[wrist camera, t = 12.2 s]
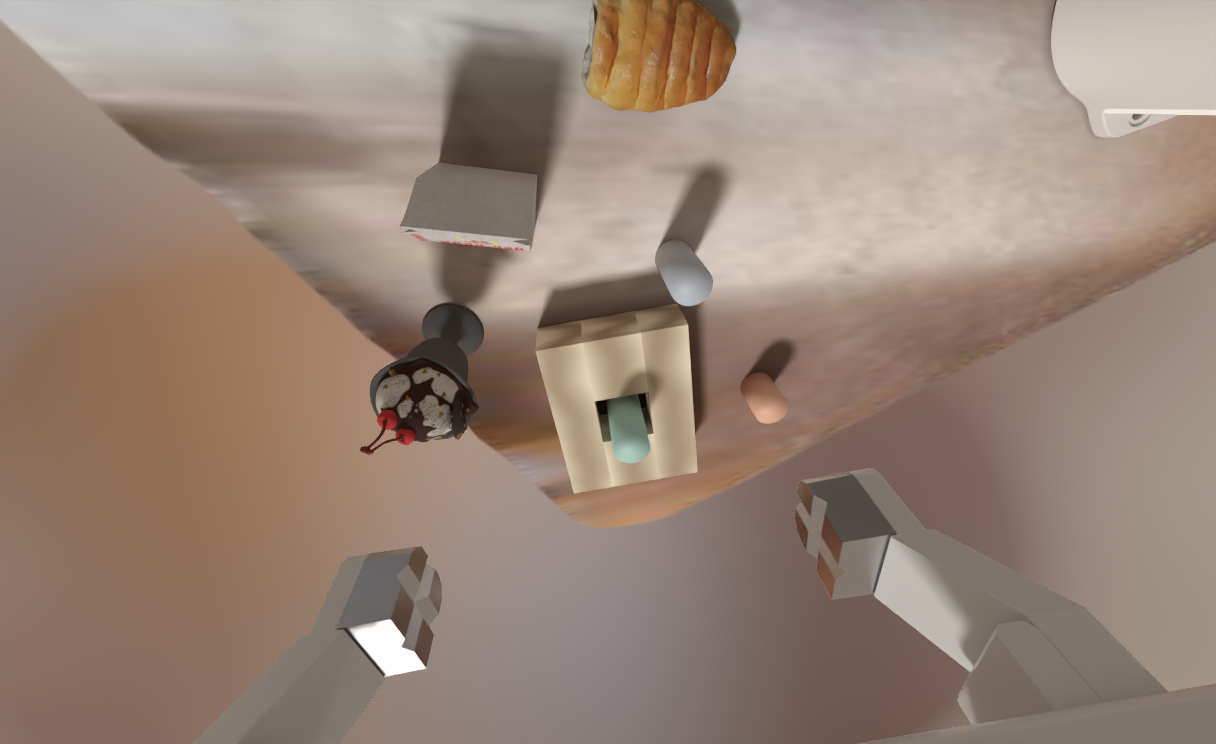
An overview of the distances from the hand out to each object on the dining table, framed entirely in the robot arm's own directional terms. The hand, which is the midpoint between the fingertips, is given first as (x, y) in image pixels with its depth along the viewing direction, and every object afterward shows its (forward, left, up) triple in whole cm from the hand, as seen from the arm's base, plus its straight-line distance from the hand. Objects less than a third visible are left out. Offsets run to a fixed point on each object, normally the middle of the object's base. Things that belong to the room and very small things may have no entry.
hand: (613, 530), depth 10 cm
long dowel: (-1, +17, -29) cm, 34 cm away
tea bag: (+6, -2, -29) cm, 30 cm away
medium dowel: (-7, +5, -29) cm, 30 cm away
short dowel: (-14, +19, -29) cm, 38 cm away
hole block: (-1, +17, -29) cm, 34 cm away
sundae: (+12, +8, -29) cm, 33 cm away
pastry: (-6, -9, -30) cm, 32 cm away
